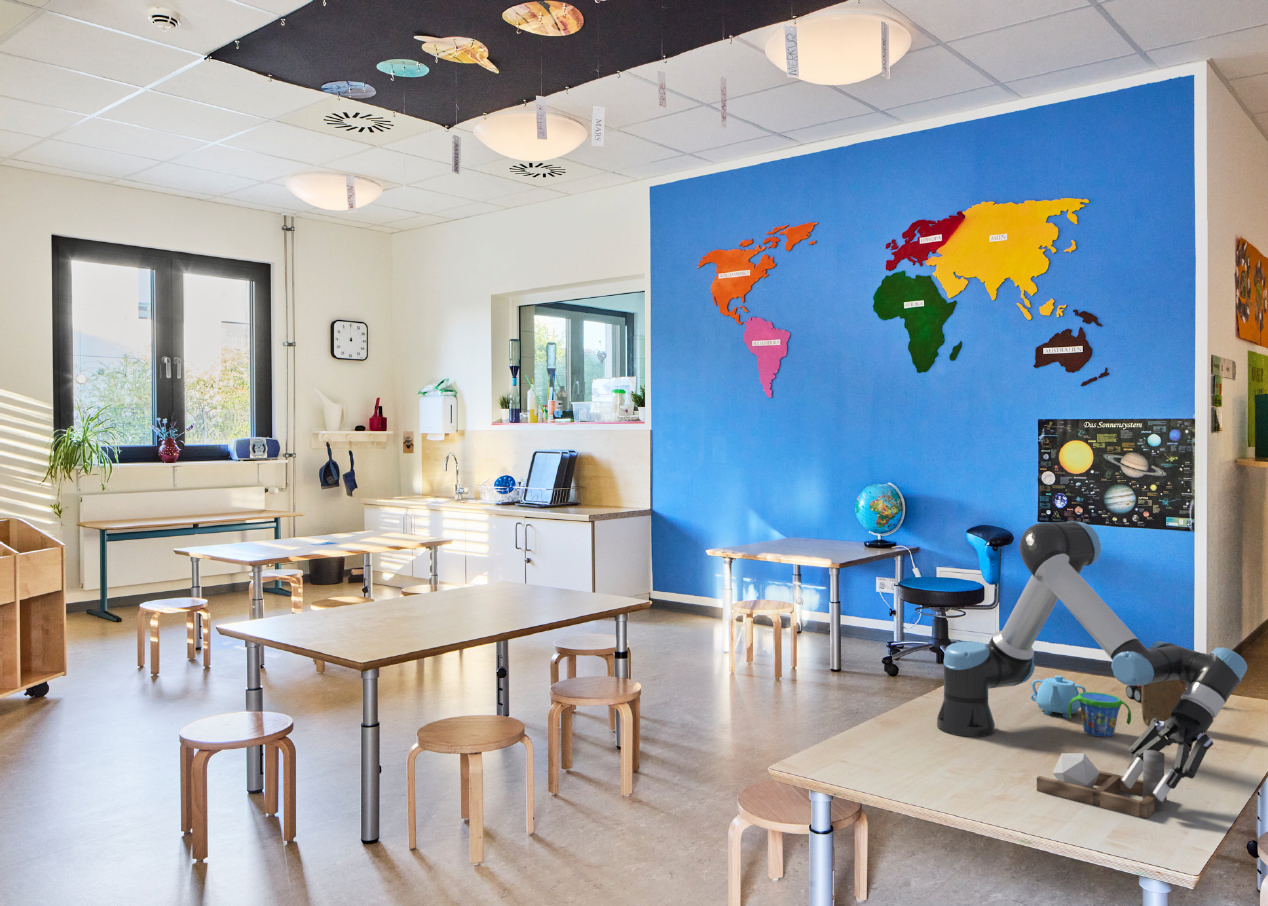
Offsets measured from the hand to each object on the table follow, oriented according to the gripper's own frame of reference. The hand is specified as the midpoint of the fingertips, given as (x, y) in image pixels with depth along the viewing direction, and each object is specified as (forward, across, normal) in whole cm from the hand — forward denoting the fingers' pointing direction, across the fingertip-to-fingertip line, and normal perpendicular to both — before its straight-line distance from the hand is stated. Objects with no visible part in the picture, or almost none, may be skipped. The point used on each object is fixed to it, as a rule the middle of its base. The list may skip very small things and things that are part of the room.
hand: (1141, 790), depth 201 cm
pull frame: (+4, +9, -2) cm, 10 cm away
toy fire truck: (-52, +63, -59) cm, 101 cm away
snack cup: (-22, +45, -29) cm, 58 cm away
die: (+6, +14, -1) cm, 16 cm away
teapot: (-25, +64, -32) cm, 75 cm away
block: (-38, +44, -45) cm, 74 cm away
